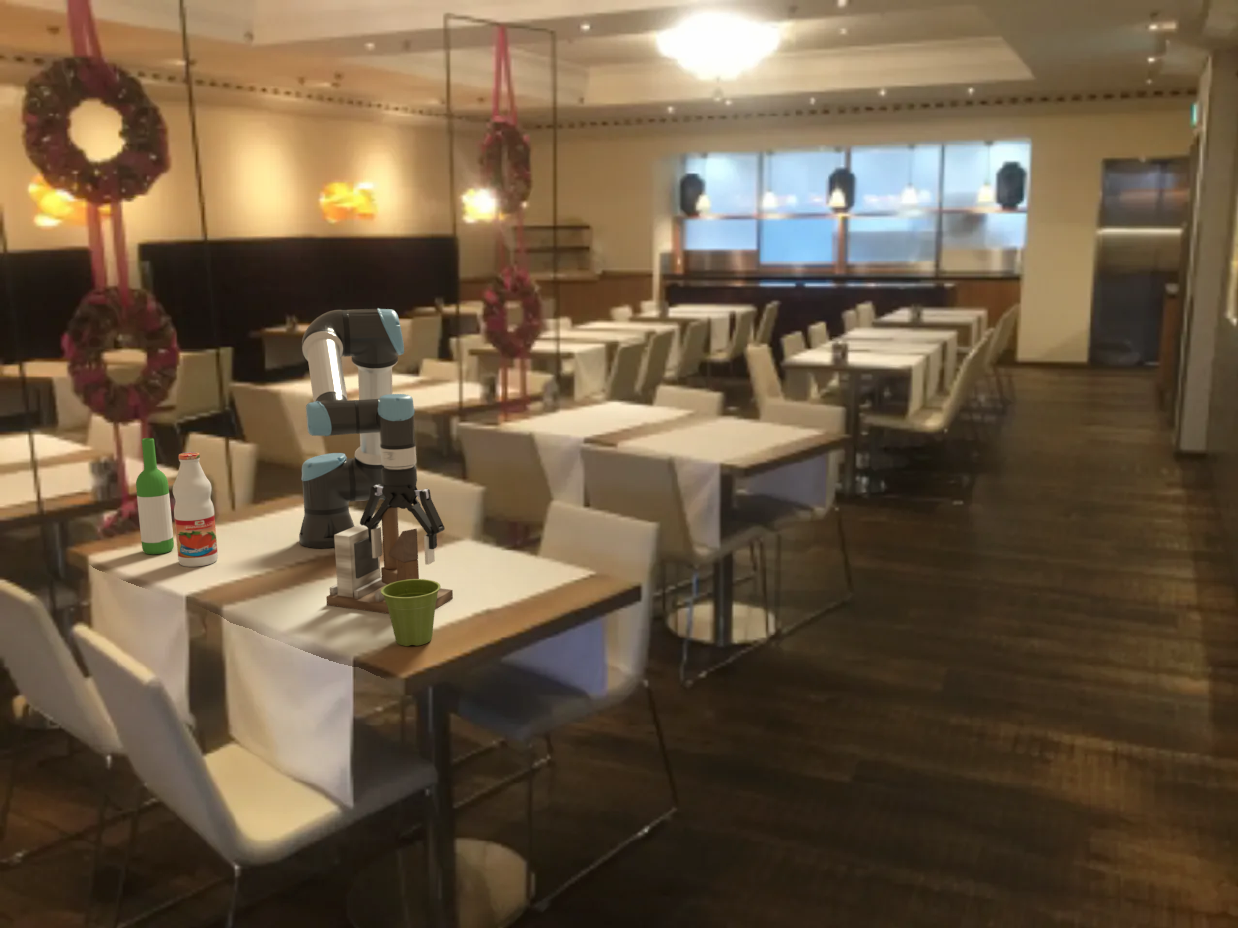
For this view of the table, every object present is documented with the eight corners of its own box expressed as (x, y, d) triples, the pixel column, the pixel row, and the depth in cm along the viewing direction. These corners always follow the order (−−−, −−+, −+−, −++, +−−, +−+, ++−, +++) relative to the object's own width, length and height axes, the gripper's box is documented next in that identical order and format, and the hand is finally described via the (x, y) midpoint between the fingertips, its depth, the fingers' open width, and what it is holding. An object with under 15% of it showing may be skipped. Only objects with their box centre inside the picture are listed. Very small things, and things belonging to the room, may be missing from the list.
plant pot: (400, 628, 228) (398, 576, 225) (452, 633, 224) (450, 581, 222) (372, 648, 217) (369, 594, 214) (426, 654, 213) (424, 599, 211)
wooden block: (405, 593, 238) (401, 514, 234) (381, 582, 246) (377, 505, 242) (420, 590, 240) (416, 511, 236) (395, 579, 248) (391, 502, 244)
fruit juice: (214, 554, 282) (205, 448, 276) (221, 563, 274) (212, 455, 268) (176, 560, 277) (166, 452, 272) (181, 569, 269) (171, 458, 264)
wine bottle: (180, 550, 286) (169, 438, 280) (151, 557, 280) (140, 442, 274) (165, 545, 291) (154, 435, 285) (136, 551, 285) (125, 439, 279)
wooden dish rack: (363, 586, 255) (359, 520, 252) (452, 598, 246) (450, 530, 243) (326, 604, 242) (322, 535, 239) (419, 618, 234) (416, 546, 230)
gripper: (340, 465, 238) (346, 558, 242) (439, 473, 229) (443, 570, 233) (360, 458, 244) (365, 549, 249) (457, 466, 235) (461, 560, 240)
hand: (403, 559), depth 241 cm, fingers open, 13 cm apart
